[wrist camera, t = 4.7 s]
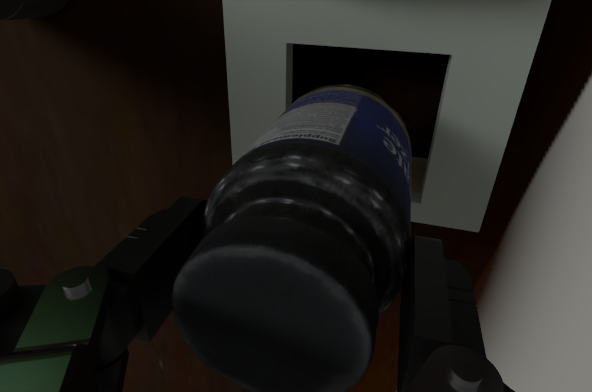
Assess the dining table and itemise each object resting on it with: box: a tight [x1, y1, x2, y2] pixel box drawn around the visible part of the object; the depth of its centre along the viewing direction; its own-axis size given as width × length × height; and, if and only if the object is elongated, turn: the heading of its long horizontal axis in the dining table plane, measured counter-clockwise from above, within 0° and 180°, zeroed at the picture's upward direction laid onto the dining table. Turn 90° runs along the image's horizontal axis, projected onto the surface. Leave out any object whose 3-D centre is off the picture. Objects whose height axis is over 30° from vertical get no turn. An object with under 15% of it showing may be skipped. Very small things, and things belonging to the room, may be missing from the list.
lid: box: [222, 0, 551, 232], centre depth 17 cm, size 14×18×5 cm
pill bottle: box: [172, 84, 412, 392], centre depth 13 cm, size 6×6×11 cm
